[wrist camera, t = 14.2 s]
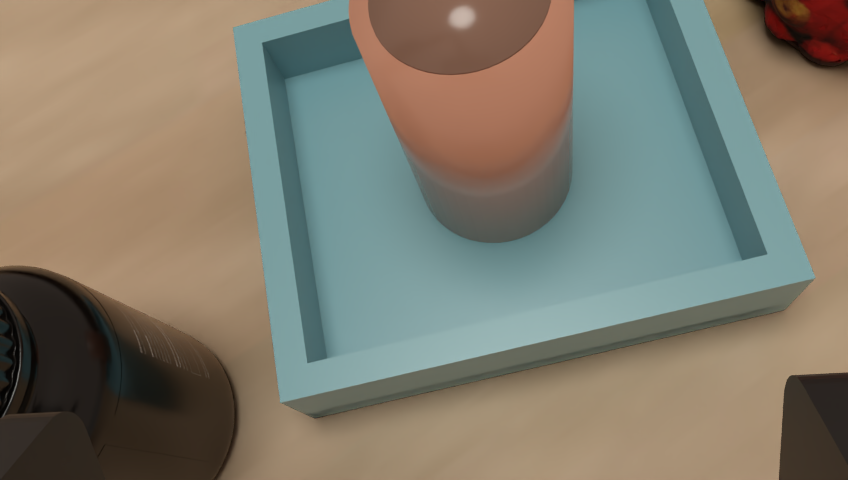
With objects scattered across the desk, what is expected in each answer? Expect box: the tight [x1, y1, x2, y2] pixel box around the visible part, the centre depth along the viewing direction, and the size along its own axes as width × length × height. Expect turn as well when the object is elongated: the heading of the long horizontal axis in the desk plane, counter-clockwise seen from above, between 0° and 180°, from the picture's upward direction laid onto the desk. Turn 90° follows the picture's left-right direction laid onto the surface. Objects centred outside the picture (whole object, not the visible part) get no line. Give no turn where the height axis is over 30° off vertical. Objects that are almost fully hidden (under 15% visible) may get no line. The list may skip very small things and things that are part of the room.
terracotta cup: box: [349, 0, 574, 243], centre depth 23 cm, size 5×5×10 cm
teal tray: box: [233, 0, 815, 418], centre depth 27 cm, size 16×14×4 cm
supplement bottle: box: [0, 266, 234, 480], centre depth 23 cm, size 7×7×12 cm
